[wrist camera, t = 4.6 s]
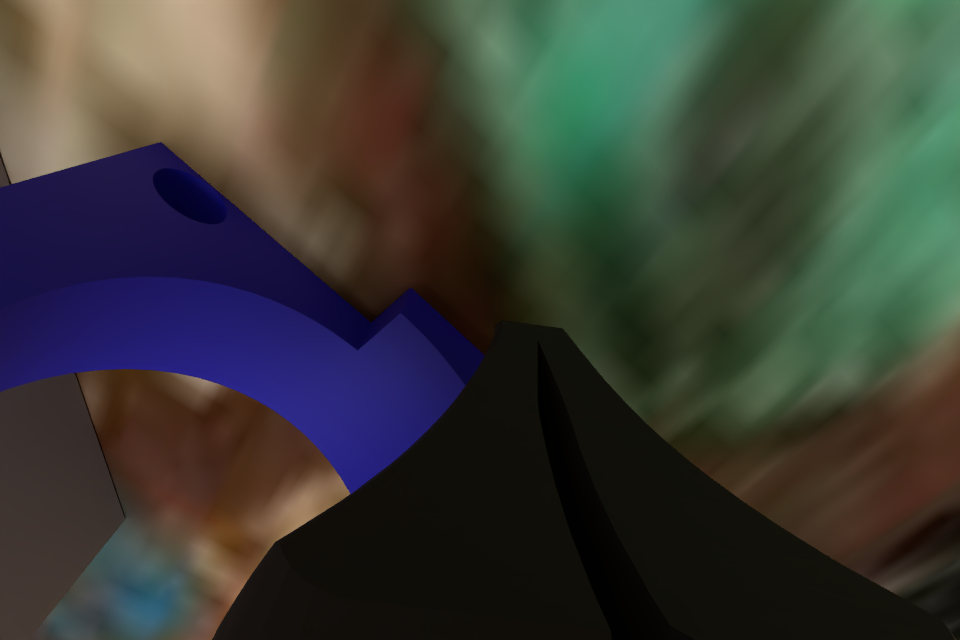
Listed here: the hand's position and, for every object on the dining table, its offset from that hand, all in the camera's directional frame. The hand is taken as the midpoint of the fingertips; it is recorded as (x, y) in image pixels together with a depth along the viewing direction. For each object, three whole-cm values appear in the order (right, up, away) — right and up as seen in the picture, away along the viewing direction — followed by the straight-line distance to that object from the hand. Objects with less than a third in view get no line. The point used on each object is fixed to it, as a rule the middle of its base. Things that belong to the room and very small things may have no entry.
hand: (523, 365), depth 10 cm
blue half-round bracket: (-4, +1, +3) cm, 5 cm away
